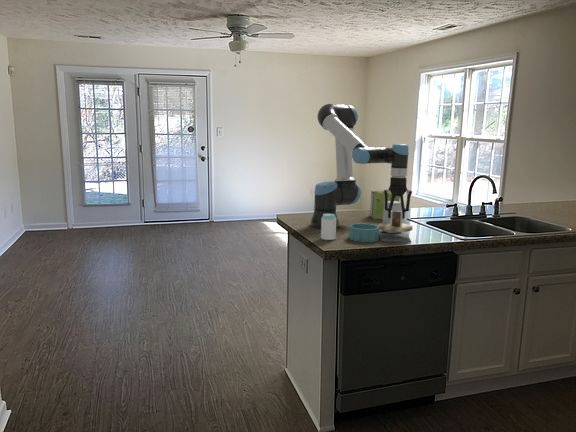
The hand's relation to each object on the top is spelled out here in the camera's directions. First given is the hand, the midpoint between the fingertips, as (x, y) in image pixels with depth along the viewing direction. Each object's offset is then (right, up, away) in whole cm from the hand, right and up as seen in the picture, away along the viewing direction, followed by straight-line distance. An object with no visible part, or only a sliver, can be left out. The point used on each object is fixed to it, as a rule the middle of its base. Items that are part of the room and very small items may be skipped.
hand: (395, 224), depth 231 cm
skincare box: (+2, -4, +16) cm, 17 cm away
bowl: (-16, -7, -1) cm, 17 cm away
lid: (0, -2, 0) cm, 2 cm away
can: (-33, -7, -4) cm, 34 cm away
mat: (0, -6, +1) cm, 7 cm away
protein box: (+5, +3, +53) cm, 54 cm away
